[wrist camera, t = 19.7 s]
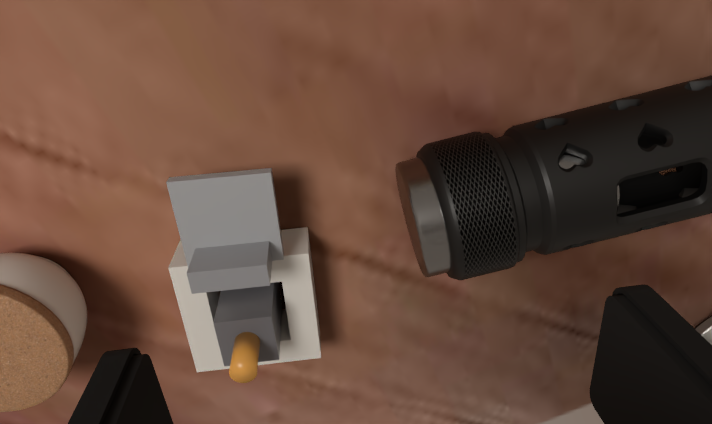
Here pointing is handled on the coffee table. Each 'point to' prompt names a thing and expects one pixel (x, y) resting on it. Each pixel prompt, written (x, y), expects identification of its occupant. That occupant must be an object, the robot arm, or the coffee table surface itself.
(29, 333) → the lidded jar
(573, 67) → the coffee table surface
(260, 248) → the plate with raised block
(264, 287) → the plug
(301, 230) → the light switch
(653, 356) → the robot arm
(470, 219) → the muzzle brake
